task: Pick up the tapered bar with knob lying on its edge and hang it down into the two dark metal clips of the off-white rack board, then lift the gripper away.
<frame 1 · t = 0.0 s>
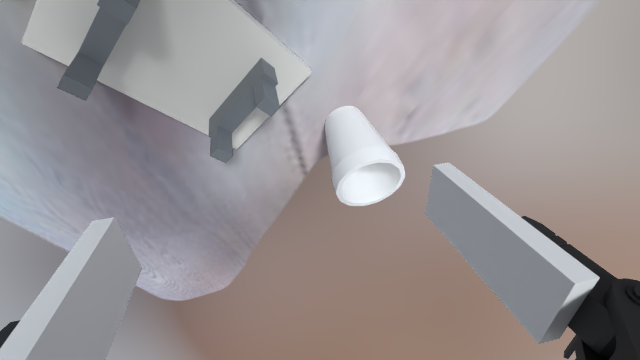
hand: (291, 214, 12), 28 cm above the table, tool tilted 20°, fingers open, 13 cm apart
foam cup: (343, 121, 46), on the table
clip rack: (187, 53, 33), on the table
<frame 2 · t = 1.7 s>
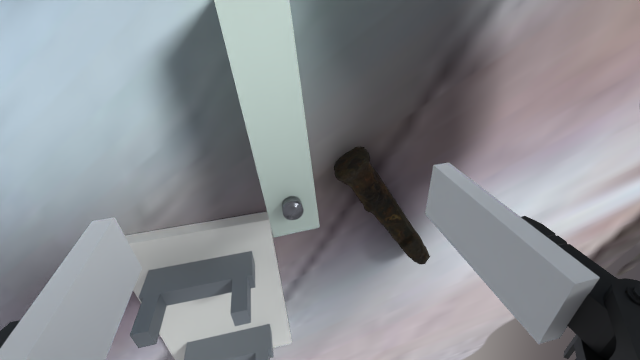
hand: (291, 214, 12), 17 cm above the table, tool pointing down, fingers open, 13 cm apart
tapered bar with knob: (270, 102, 27), on the table
hand tool: (385, 200, 36), on the table
clip rack: (219, 295, 38), on the table
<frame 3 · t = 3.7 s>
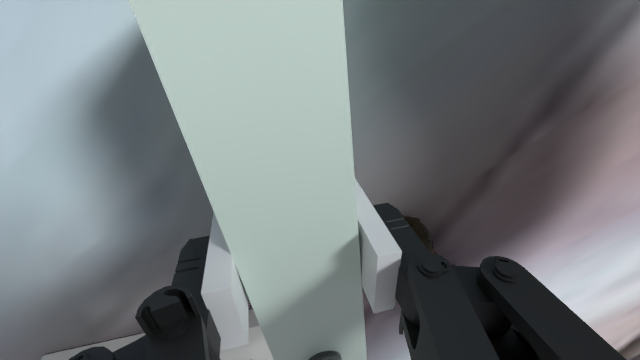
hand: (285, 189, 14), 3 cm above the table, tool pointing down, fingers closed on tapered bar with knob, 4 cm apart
tapered bar with knob: (280, 163, 16), on the table, touching gripper
hand tool: (438, 275, 26), on the table
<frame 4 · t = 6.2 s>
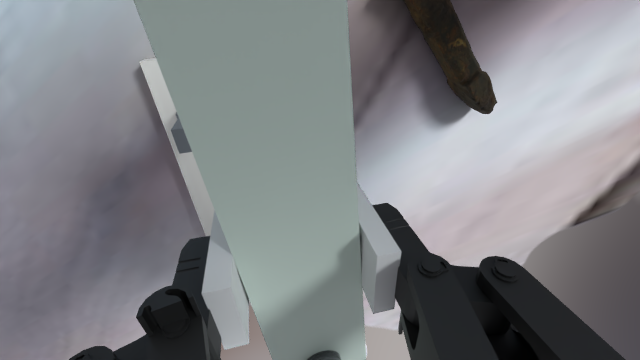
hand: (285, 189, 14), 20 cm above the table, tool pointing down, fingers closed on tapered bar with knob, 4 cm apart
tapered bar with knob: (280, 162, 16), point 17 cm above the table, touching gripper
hand tool: (443, 42, 32), on the table
clip rack: (255, 159, 34), on the table
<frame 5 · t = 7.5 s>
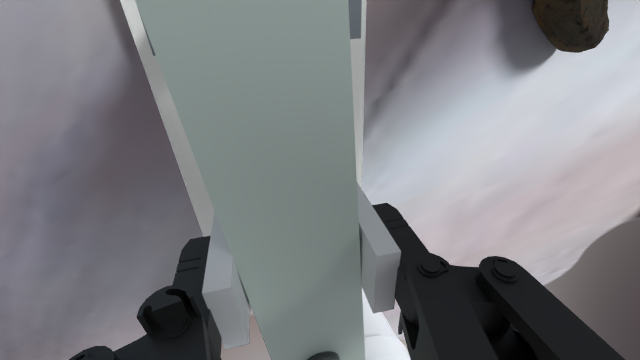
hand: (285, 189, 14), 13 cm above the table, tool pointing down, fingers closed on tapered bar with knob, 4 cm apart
tapered bar with knob: (280, 162, 16), point 10 cm above the table, touching gripper
foam cup: (332, 278, 38), on the table
clip rack: (268, 111, 25), on the table
when the fingers open (9 cm above the table, at t = 8.8 s): tapered bar with knob drops 1 cm, resting on clip rack.
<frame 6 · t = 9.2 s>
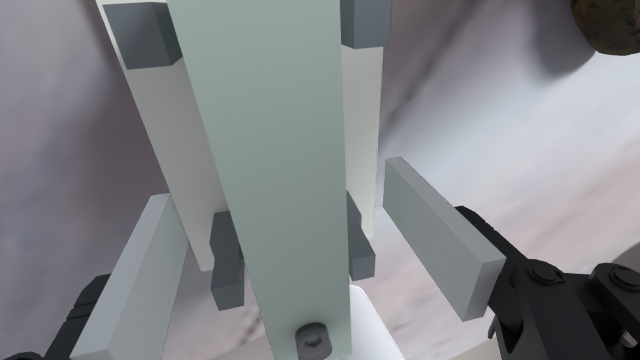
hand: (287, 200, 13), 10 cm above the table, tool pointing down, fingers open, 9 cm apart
tapered bar with knob: (277, 151, 18), point 5 cm above the table, touching clip rack
foam cup: (340, 301, 35), on the table
clip rack: (271, 125, 22), on the table
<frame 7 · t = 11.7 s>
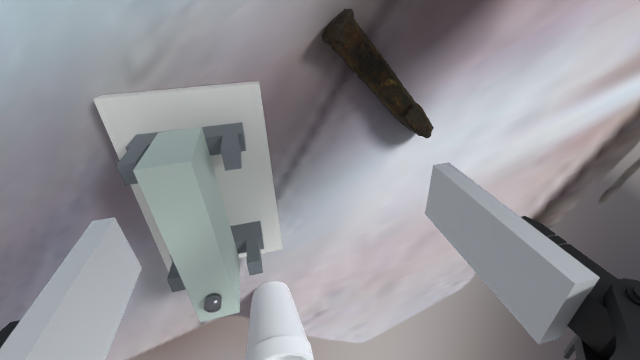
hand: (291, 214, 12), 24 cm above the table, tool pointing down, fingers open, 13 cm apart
tapered bar with knob: (204, 205, 33), point 5 cm above the table, touching clip rack
foam cup: (271, 293, 50), on the table
hand tool: (381, 78, 36), on the table
clip rack: (209, 184, 37), on the table
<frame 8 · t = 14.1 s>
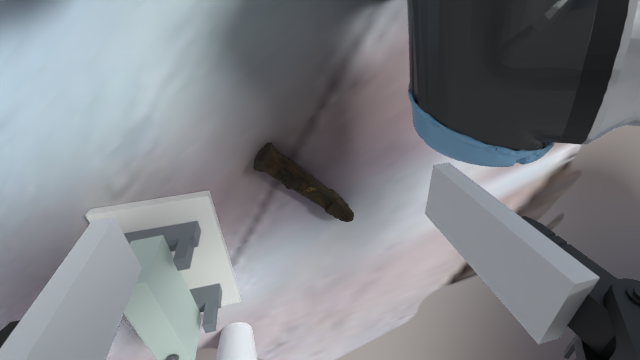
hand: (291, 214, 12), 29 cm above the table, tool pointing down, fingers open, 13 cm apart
tapered bar with knob: (170, 282, 43), point 5 cm above the table, touching clip rack
foam cup: (236, 331, 61), on the table
hand tool: (310, 178, 46), on the table
clip rack: (177, 258, 48), on the table
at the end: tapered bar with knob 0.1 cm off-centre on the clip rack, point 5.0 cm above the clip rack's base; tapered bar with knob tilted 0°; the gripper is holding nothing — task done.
